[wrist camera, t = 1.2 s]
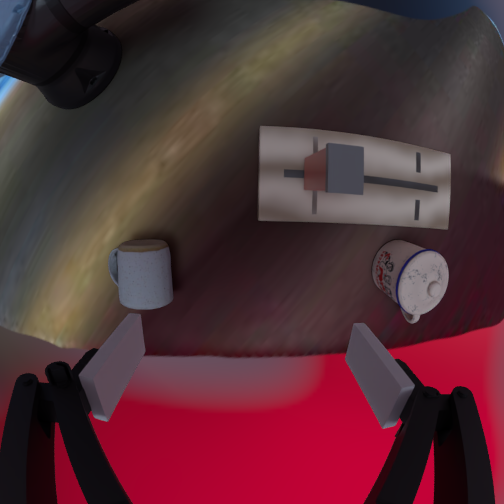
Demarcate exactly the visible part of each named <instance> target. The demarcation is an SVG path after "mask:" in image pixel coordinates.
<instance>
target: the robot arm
mask: <svg viewBox="0 0 504 504" xmlns="http://www.w3.org/2000/svg"><path fill="white" fill-rule="evenodd" d="M137 1H139V0H0V73H2V74H5V75H8V76H11V77H13V78H16V79H19V80H22V81H24V82H27V83H30V84H32V85H35V86H36V87H37V88H38V89H39V90H40V91H41V92H42V94H43V95H44V96H45V98H46V99H47V101H48V102H49V103H51V104H52V105H54V106H57V107H60V108H63V109H74V108H78V107H80V106H83V105H85V104H86V103H88V102H90V101H91V100H93V99H94V98H95V97H96V96H98V95H99V94H100V93H101V92H102V91H103V90H104V89H105V88H106V86H107V85H108V84H109V82H110V81H111V80H112V78H113V77H114V75H115V73H116V71H117V69H118V67H119V64H120V60H121V55H122V48H121V44H120V41H119V40H118V38H117V37H116V36H115V35H114V34H113V33H112V32H111V31H110V30H108V29H106V28H103V27H99V26H96V25H95V24H96V23H98V22H100V21H101V20H103V19H105V18H106V17H108V16H110V15H112V14H113V13H115V12H117V11H119V10H121V9H123V8H125V7H127V6H129V5H131V4H133V3H135V2H137ZM144 353H145V346H144V338H143V331H142V322H141V314H134V313H129V314H128V315H127V316H126V318H125V319H124V320H123V321H122V322H121V324H120V325H119V326H118V327H117V328H116V329H115V331H114V332H113V333H112V334H111V335H110V337H109V338H108V339H107V340H106V342H105V343H104V344H103V345H102V346H101V348H100V349H96V348H93V349H91V350H89V351H88V352H86V353H85V355H84V356H83V357H82V359H80V360H79V362H78V363H77V364H76V365H75V366H74V368H73V369H72V370H71V368H70V366H69V364H67V363H65V362H61V361H59V362H54V363H51V364H49V365H48V366H47V367H46V369H45V374H46V376H47V379H48V381H49V383H41V382H39V381H38V378H37V377H36V375H34V374H30V373H26V374H22V375H20V376H19V377H18V378H17V380H16V382H15V386H14V390H13V393H12V397H11V400H10V404H9V408H8V412H7V417H6V421H5V426H4V431H3V437H2V443H1V449H0V504H57V495H56V483H55V463H54V437H55V422H57V423H59V427H60V430H61V434H62V437H63V441H64V444H65V447H66V450H67V453H68V456H69V459H70V462H71V465H72V467H73V470H74V473H75V475H76V478H77V480H78V483H79V485H80V487H81V490H82V492H83V494H84V496H85V499H86V501H87V503H88V504H133V503H132V502H131V500H130V498H129V497H128V495H127V494H126V492H125V490H124V489H123V487H122V485H121V483H120V482H119V480H118V478H117V476H116V474H115V473H114V471H113V469H112V467H111V465H110V463H109V461H108V459H107V457H106V455H105V453H104V451H103V449H102V447H101V444H100V442H99V440H98V438H97V435H96V433H95V431H94V428H93V426H92V424H91V421H90V419H89V416H88V414H89V413H90V411H92V413H93V415H94V418H97V419H100V420H104V421H107V422H108V420H109V419H110V417H111V415H112V413H113V411H114V409H115V407H116V405H117V403H118V401H119V399H120V397H121V395H122V394H123V391H124V390H125V388H126V386H127V384H128V382H129V381H130V379H131V377H132V375H133V373H134V371H135V369H136V368H137V366H138V364H139V362H140V360H141V359H142V357H143V355H144ZM345 360H346V362H347V364H348V366H349V367H350V369H351V371H352V373H353V375H354V376H355V378H356V380H357V382H358V384H359V386H360V387H361V389H362V391H363V393H364V395H365V397H366V398H367V400H368V402H369V404H370V406H371V408H372V409H373V412H374V413H375V415H376V417H377V419H378V421H379V423H380V425H381V427H382V428H387V427H391V426H395V425H396V423H397V421H398V419H399V417H400V419H401V421H402V424H401V426H400V428H399V430H398V431H397V433H396V435H395V437H396V439H395V441H394V443H393V446H392V448H391V451H390V453H389V455H388V457H387V459H386V461H385V464H384V466H383V468H382V470H381V472H380V474H379V476H378V478H377V480H376V482H375V484H374V486H373V488H372V489H371V491H370V493H369V495H368V497H367V498H366V500H365V502H364V504H413V501H414V499H415V496H416V493H417V490H418V488H419V485H420V482H421V479H422V476H423V473H424V470H425V466H426V463H427V460H428V456H429V453H430V449H431V445H432V441H433V443H434V473H435V474H434V475H435V476H434V504H495V496H494V486H493V479H492V471H491V465H490V459H489V454H488V449H487V445H486V440H485V436H484V432H483V428H482V424H481V420H480V417H479V413H478V410H477V406H476V403H475V400H474V397H473V394H472V392H471V391H470V390H469V389H468V388H466V387H462V386H459V387H455V388H454V389H453V391H452V393H451V394H440V393H439V391H438V390H437V389H435V388H433V387H429V386H426V387H425V386H424V385H423V384H422V383H421V381H420V380H419V379H418V378H417V377H416V375H415V374H413V372H412V371H411V370H410V368H409V367H408V366H407V365H406V363H404V362H403V361H401V360H400V359H394V358H393V357H392V356H391V355H390V354H389V352H388V351H387V350H386V348H385V347H384V346H383V345H382V344H381V342H380V341H379V340H378V339H377V338H376V336H375V335H374V334H373V333H372V332H371V330H370V329H369V328H368V327H367V326H366V324H365V323H354V324H353V329H352V333H351V338H350V342H349V346H348V350H347V354H346V358H345Z"/></svg>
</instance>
